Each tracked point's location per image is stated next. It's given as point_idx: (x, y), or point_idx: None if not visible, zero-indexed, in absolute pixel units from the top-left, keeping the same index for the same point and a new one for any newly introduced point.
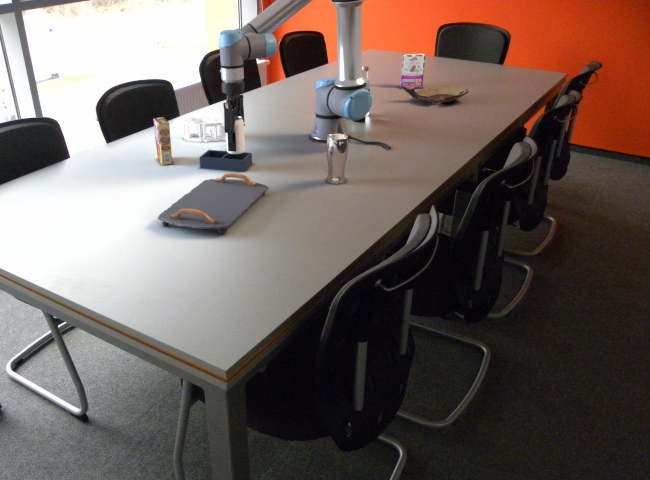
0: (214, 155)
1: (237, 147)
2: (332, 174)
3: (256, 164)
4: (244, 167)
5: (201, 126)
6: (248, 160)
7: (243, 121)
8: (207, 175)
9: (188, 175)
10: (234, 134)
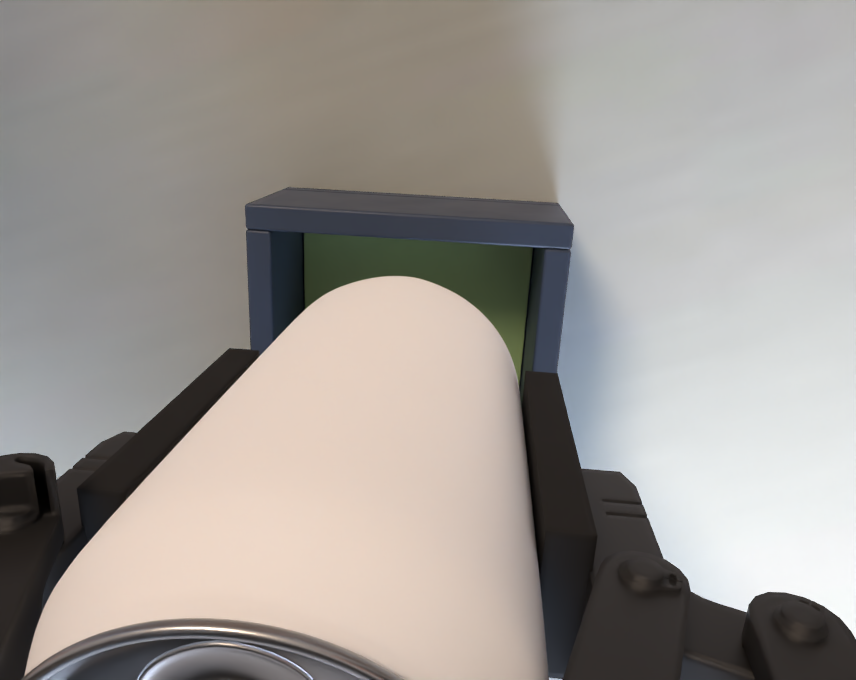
0: None
1: (506, 373)
2: None
3: (292, 134)
4: (553, 208)
5: None
6: (401, 204)
7: (178, 519)
8: (702, 527)
9: None
10: (593, 521)
